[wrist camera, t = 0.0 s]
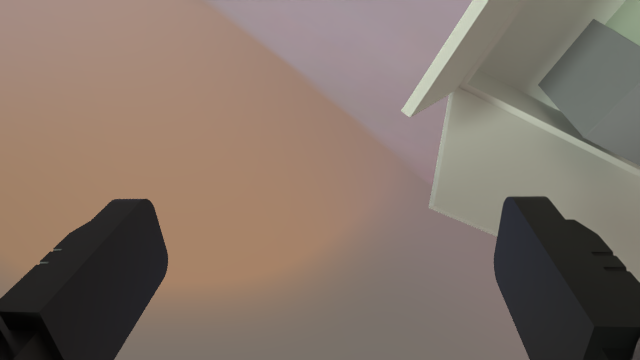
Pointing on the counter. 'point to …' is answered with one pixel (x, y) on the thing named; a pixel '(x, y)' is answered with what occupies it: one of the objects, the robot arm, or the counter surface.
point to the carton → (523, 124)
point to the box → (602, 82)
